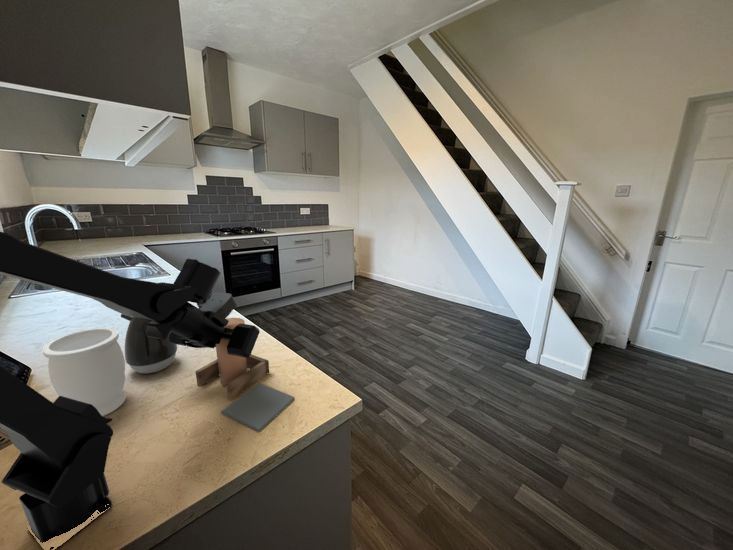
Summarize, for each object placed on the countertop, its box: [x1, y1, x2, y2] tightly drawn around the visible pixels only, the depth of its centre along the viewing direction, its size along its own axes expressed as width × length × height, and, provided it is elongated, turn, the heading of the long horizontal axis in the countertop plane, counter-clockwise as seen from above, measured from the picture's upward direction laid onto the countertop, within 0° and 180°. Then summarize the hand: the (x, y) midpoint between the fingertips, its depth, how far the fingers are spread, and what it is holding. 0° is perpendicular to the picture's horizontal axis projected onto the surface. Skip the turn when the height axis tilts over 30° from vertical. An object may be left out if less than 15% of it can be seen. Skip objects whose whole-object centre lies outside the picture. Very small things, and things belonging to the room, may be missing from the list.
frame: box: [194, 353, 270, 401], centre depth 67 cm, size 11×11×4 cm
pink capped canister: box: [215, 317, 249, 387], centre depth 66 cm, size 7×7×14 cm
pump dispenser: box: [120, 313, 178, 374], centre depth 69 cm, size 10×10×15 cm
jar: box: [41, 327, 127, 417], centre depth 56 cm, size 11×10×15 cm
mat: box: [221, 382, 295, 433], centre depth 59 cm, size 10×10×1 cm
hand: (235, 346), depth 67 cm, fingers closed on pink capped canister, 6 cm apart
